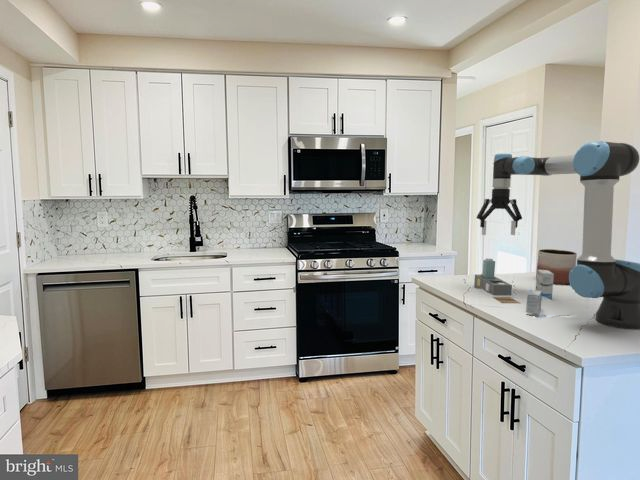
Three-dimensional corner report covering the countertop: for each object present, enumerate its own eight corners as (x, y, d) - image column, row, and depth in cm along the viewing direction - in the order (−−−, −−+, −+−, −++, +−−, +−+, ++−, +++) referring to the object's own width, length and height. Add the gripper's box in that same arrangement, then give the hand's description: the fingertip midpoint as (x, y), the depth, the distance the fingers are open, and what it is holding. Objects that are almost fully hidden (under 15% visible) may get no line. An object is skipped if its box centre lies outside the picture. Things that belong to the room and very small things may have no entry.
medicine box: (538, 317, 166) (540, 295, 165) (525, 315, 169) (527, 293, 168) (540, 312, 173) (542, 291, 172) (528, 310, 175) (530, 289, 174)
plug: (493, 286, 207) (495, 259, 206) (485, 286, 207) (486, 259, 206) (489, 284, 211) (491, 258, 210) (481, 284, 211) (483, 258, 210)
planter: (539, 276, 243) (541, 248, 241) (576, 281, 233) (579, 251, 231) (532, 281, 229) (535, 251, 227) (571, 287, 219) (574, 255, 216)
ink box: (552, 300, 193) (554, 273, 191) (539, 299, 194) (542, 273, 192) (546, 295, 201) (548, 269, 199) (534, 294, 202) (536, 269, 200)
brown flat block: (520, 306, 181) (521, 303, 181) (501, 306, 181) (501, 303, 180) (509, 300, 191) (509, 296, 191) (491, 300, 190) (491, 296, 190)
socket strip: (511, 298, 194) (512, 284, 193) (492, 298, 194) (493, 284, 193) (490, 286, 216) (491, 273, 215) (473, 286, 215) (474, 273, 214)
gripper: (523, 188, 205) (520, 234, 207) (470, 187, 204) (468, 233, 206) (532, 188, 197) (529, 235, 200) (477, 187, 196) (474, 235, 199)
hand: (498, 234), depth 203 cm, fingers open, 13 cm apart
